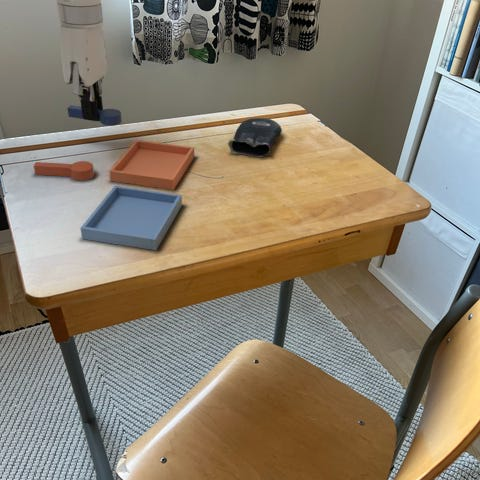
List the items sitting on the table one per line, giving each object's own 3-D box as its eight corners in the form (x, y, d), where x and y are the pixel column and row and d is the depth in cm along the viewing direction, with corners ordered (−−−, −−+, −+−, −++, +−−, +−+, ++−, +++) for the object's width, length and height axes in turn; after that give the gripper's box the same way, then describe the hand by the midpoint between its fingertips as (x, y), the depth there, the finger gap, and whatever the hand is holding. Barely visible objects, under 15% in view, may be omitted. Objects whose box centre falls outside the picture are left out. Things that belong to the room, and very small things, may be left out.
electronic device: (273, 165, 106) (284, 127, 115) (271, 140, 101) (283, 103, 111) (229, 164, 108) (244, 127, 117) (226, 140, 104) (241, 104, 113)
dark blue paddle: (65, 119, 102) (64, 110, 101) (74, 111, 106) (73, 102, 104) (117, 126, 101) (116, 117, 100) (124, 119, 104) (124, 110, 103)
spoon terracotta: (33, 178, 95) (30, 168, 93) (40, 167, 98) (38, 158, 97) (91, 181, 95) (89, 172, 94) (96, 170, 98) (95, 161, 97)
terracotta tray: (110, 180, 95) (109, 170, 94) (137, 149, 105) (136, 139, 104) (173, 189, 94) (173, 179, 92) (194, 156, 104) (194, 147, 103)
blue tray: (82, 238, 81) (80, 228, 80) (116, 195, 91) (114, 185, 90) (156, 250, 79) (155, 239, 78) (182, 205, 90) (181, 194, 88)
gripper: (79, 3, 97) (91, 102, 110) (39, 21, 86) (58, 129, 98) (117, 7, 96) (125, 107, 109) (81, 26, 85) (95, 135, 97)
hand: (93, 117), depth 103 cm, fingers closed on dark blue paddle, 1 cm apart
